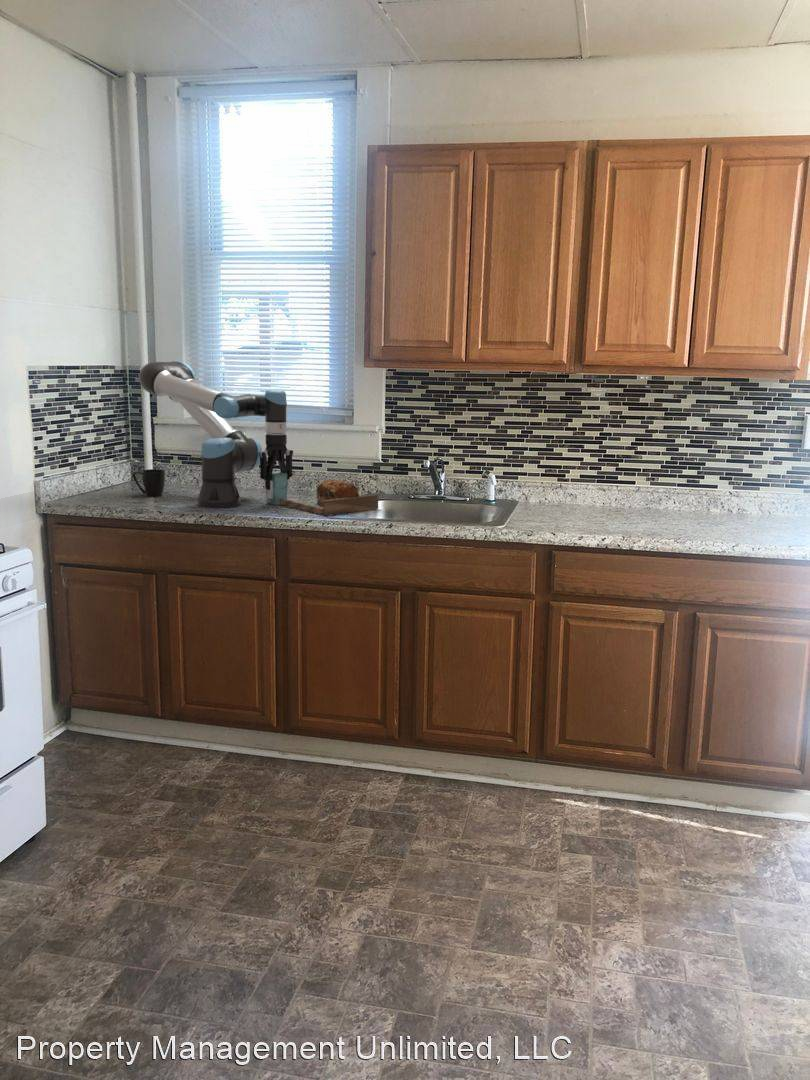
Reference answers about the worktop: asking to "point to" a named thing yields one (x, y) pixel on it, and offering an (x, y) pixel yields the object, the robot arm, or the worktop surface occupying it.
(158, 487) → the mug
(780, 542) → the worktop surface
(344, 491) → the bread
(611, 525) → the worktop surface
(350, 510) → the sled
